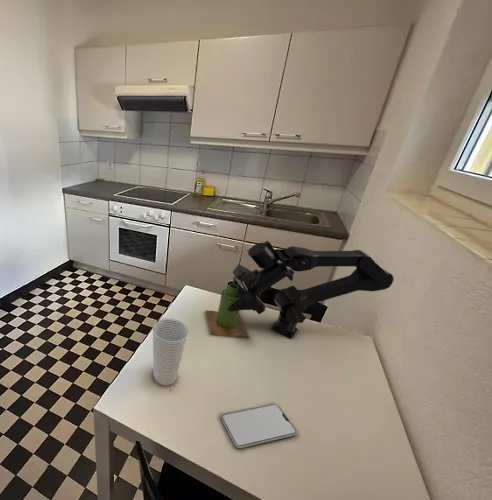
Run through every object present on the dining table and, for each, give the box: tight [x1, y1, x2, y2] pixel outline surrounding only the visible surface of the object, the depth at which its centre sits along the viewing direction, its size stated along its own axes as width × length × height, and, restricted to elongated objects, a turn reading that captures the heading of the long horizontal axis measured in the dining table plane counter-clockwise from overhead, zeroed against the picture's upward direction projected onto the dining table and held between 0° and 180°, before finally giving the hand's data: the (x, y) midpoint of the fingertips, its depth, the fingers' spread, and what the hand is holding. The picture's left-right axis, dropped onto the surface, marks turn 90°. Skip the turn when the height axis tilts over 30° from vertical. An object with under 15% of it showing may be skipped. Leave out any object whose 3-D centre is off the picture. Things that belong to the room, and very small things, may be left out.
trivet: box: [204, 310, 250, 339], centre depth 95 cm, size 12×12×1 cm
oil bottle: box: [217, 283, 241, 328], centre depth 91 cm, size 6×6×14 cm
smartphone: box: [220, 403, 298, 449], centre depth 62 cm, size 7×1×15 cm
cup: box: [152, 318, 189, 386], centre depth 70 cm, size 8×8×16 cm
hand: (225, 304), depth 92 cm, fingers closed on oil bottle, 6 cm apart
